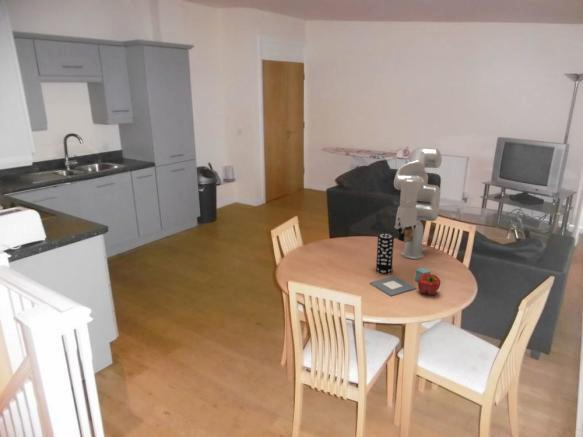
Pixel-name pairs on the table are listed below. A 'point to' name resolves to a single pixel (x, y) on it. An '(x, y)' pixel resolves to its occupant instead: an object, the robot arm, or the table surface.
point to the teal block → (420, 272)
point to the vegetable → (428, 283)
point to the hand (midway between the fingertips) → (405, 239)
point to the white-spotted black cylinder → (384, 253)
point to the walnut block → (408, 234)
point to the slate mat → (392, 285)
